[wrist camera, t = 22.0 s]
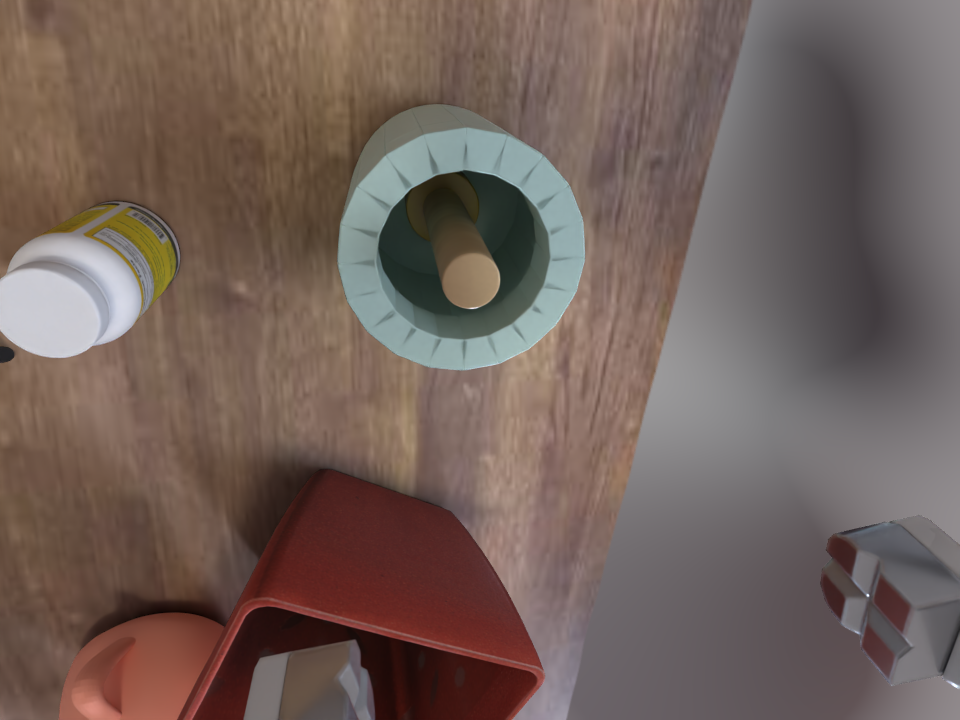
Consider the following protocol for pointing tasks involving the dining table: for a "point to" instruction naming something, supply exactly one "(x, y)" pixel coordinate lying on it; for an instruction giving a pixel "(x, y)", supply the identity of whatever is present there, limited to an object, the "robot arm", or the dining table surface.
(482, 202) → the mint green tube
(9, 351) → the sunglasses
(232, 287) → the dining table surface
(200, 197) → the dining table surface
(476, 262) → the beige handle with collar
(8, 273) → the pill bottle
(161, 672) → the teapot
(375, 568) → the flower pot
